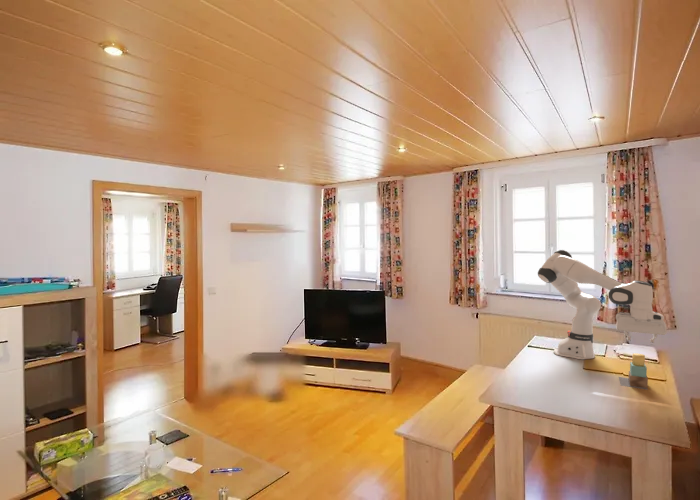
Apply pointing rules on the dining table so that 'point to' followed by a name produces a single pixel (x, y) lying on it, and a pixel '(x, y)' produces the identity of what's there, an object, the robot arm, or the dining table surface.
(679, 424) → the dining table surface
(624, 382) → the slate board
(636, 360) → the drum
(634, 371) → the block top
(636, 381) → the block base
